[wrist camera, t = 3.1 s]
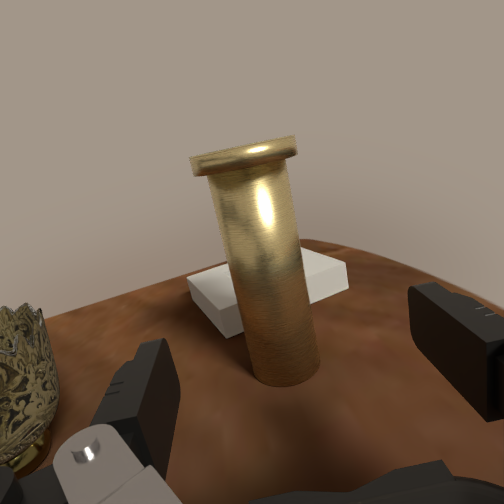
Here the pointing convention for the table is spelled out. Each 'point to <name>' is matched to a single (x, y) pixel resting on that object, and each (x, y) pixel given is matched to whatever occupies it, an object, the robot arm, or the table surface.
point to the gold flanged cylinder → (264, 256)
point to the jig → (224, 300)
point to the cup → (25, 389)
